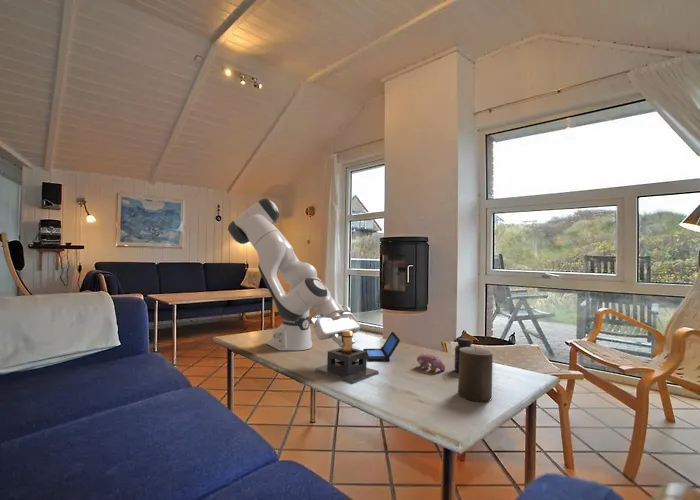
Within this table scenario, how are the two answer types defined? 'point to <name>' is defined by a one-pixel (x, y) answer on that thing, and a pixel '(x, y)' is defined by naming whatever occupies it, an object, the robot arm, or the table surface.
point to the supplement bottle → (461, 343)
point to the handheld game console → (383, 349)
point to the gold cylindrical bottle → (347, 342)
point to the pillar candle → (475, 374)
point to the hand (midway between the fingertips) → (348, 344)
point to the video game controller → (434, 362)
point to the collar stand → (347, 366)
